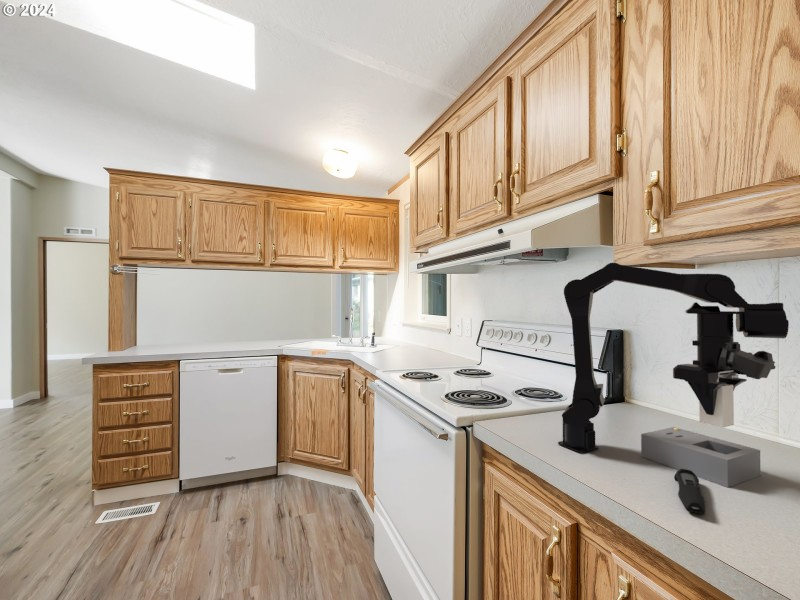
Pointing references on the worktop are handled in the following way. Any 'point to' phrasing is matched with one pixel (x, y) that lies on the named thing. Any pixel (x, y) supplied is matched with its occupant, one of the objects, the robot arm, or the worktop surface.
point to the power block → (702, 455)
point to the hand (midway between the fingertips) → (715, 413)
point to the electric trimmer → (690, 491)
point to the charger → (720, 408)
